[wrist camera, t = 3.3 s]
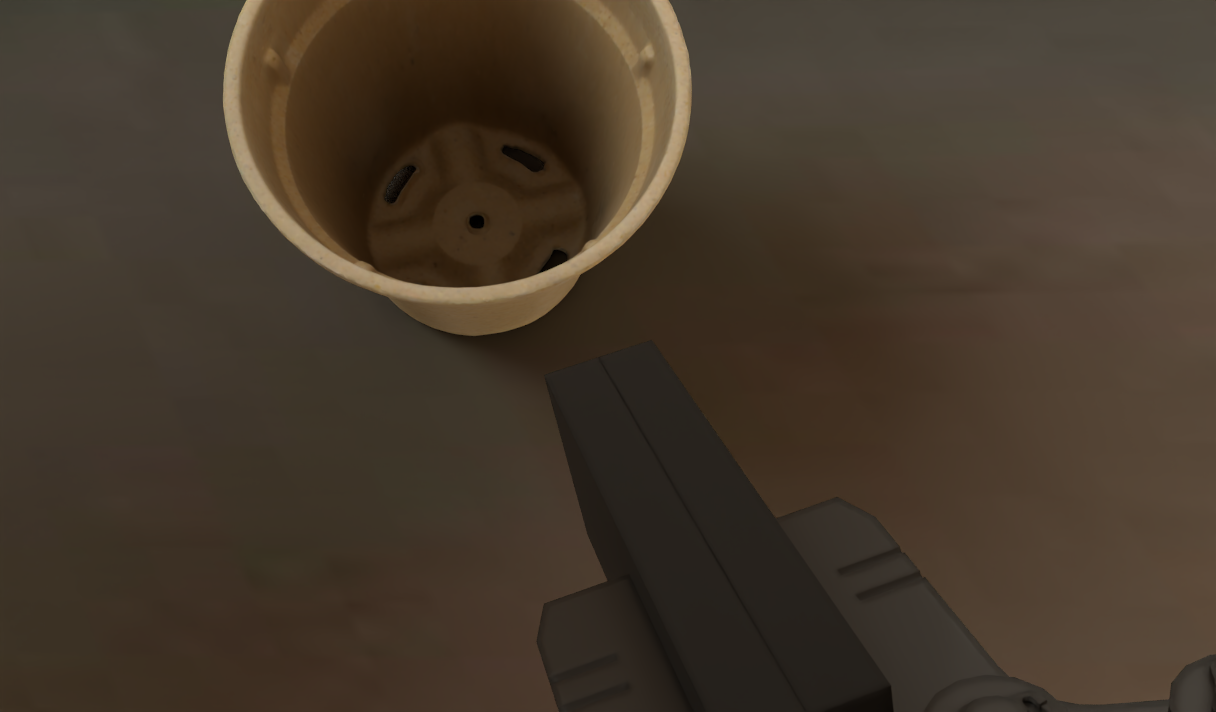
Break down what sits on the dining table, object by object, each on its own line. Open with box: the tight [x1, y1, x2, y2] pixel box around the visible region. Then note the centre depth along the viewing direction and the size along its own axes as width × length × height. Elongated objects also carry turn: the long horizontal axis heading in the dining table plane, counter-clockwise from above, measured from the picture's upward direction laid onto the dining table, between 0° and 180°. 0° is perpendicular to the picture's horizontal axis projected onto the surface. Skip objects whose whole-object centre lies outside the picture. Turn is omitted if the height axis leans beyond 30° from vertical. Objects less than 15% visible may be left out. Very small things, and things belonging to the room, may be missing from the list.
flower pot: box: [223, 0, 692, 336], centre depth 27 cm, size 9×9×9 cm
